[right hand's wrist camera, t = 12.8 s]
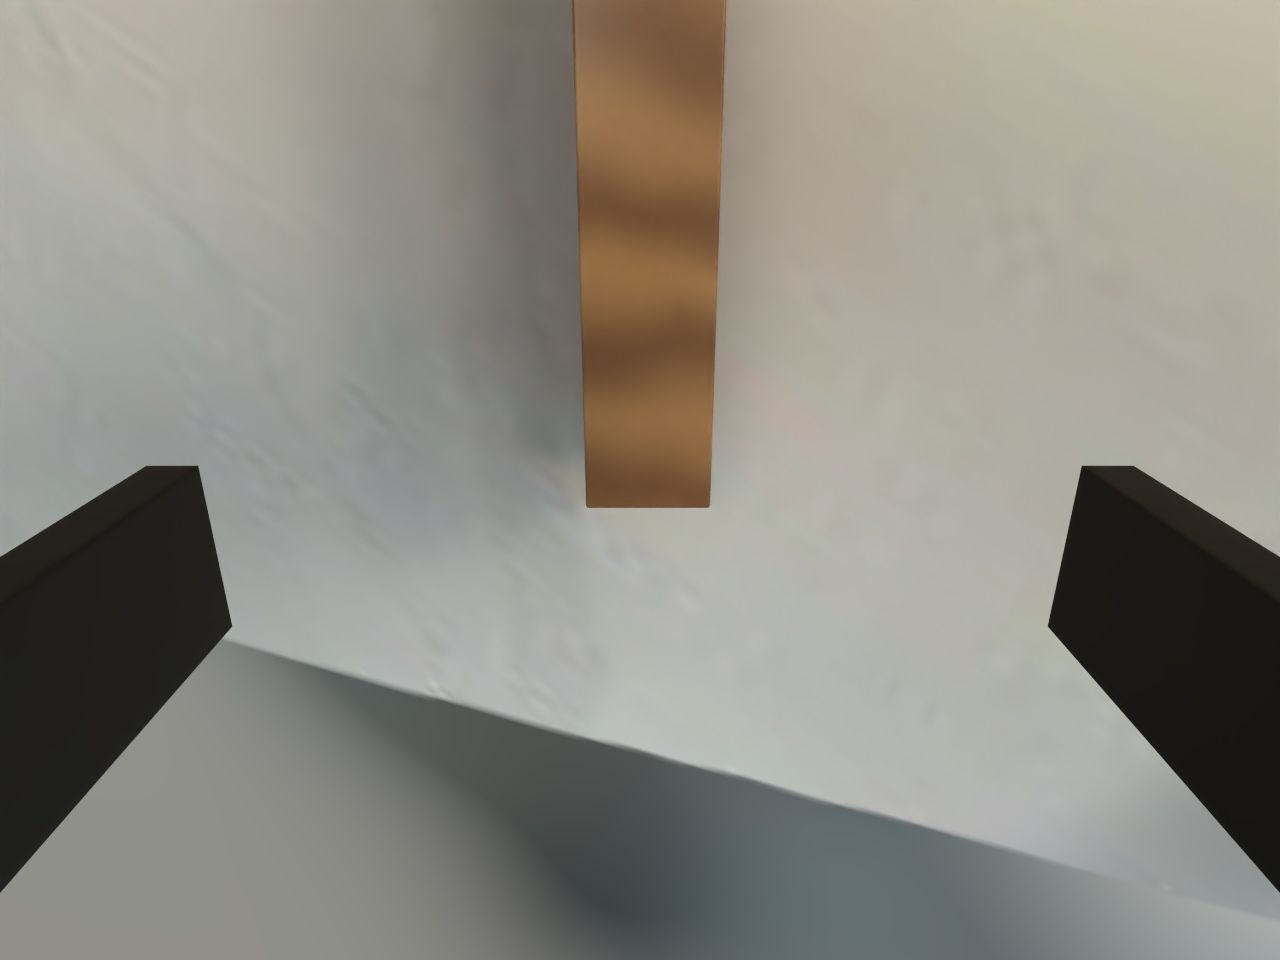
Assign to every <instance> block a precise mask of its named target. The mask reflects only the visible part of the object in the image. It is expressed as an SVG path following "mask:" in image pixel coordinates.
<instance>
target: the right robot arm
mask: <svg viewBox="0 0 1280 960" xmlns="http://www.w3.org/2000/svg"><path fill="white" fill-rule="evenodd" d="M231 627H232V623H231V618H230V614H229V609H228V604H227V600H226V595H225V590H224V585H223V581H222V576H221V571H220V567H219V562H218V557H217V553H216V548H215V543H214V538H213V534H212V529H211V524H210V520H209V515H208V510H207V505H206V501H205V496H204V491H203V487H202V482H201V477H200V472H199V468H198V466H146V467H144V468H142V469H141V470H139V471H138V472H136V473H134V474H133V475H131V476H130V477H128V478H126V479H125V480H123V481H121V482H120V483H118V484H117V485H115V486H113V487H112V488H110V489H109V490H107V491H105V492H104V493H102V494H101V495H99V496H97V497H96V498H94V499H93V500H91V501H89V502H88V503H86V504H85V505H83V506H81V507H80V508H78V509H77V510H75V511H73V512H72V513H70V514H69V515H67V516H65V517H64V518H62V519H61V520H59V521H57V522H56V523H54V524H52V525H51V526H49V527H48V528H46V529H44V530H43V531H41V532H40V533H38V534H36V535H35V536H33V537H32V538H30V539H28V540H27V541H25V542H24V543H22V544H20V545H19V546H17V547H16V548H14V549H12V550H11V551H9V552H8V553H6V554H4V555H3V556H1V557H0V892H1V891H2V890H3V889H4V888H5V886H6V885H7V884H8V883H9V882H10V881H11V880H12V878H13V877H14V876H15V875H16V874H17V873H18V872H19V870H20V869H21V868H22V867H23V866H24V865H25V864H26V862H27V861H28V860H29V859H30V858H31V857H32V855H33V854H34V853H35V852H36V851H37V850H38V849H39V847H40V846H41V845H42V844H43V843H44V842H45V840H46V839H47V838H48V837H49V836H50V835H51V834H52V832H53V831H54V830H55V829H56V828H57V827H58V826H59V825H60V823H61V822H62V821H63V820H64V819H65V818H66V816H67V815H68V814H69V813H70V812H71V811H72V810H73V808H74V807H75V806H76V805H77V804H78V803H79V802H80V800H81V799H82V798H83V797H84V796H85V795H86V794H87V792H88V791H89V790H90V789H91V788H92V787H93V785H94V784H95V783H96V782H97V781H98V780H99V779H100V777H101V776H102V775H103V774H104V773H105V772H106V771H107V769H108V768H109V767H110V766H111V765H112V764H113V763H114V761H115V760H116V759H117V758H118V757H119V756H120V754H121V753H122V752H123V751H124V750H125V749H126V748H127V746H128V745H129V744H130V743H131V742H132V741H133V740H134V738H135V737H136V736H137V735H138V734H139V733H140V732H141V730H142V729H143V728H144V727H145V726H146V725H147V724H148V722H149V721H150V720H151V719H152V718H153V717H154V715H155V714H156V713H157V712H158V711H159V710H160V709H161V707H162V706H163V705H164V704H165V703H166V702H167V701H168V699H169V698H170V697H171V696H172V695H173V694H174V693H175V691H176V690H177V689H178V688H179V687H180V686H181V684H182V683H183V682H184V681H185V680H186V679H187V678H188V676H189V675H190V674H191V673H192V672H193V671H194V670H195V668H196V667H197V666H198V665H199V664H200V663H201V662H202V660H203V659H204V658H205V657H206V656H207V655H208V654H209V652H210V651H211V650H212V649H213V648H214V647H215V645H216V644H217V643H218V642H219V641H220V640H221V639H222V637H223V636H224V635H225V634H226V633H227V632H228V631H229V629H230V628H231ZM1048 627H1049V628H1050V629H1051V631H1052V632H1053V633H1054V634H1055V635H1056V636H1057V637H1058V639H1059V640H1060V641H1061V642H1062V643H1063V644H1064V646H1065V647H1066V648H1067V649H1068V650H1069V651H1070V652H1071V654H1072V655H1073V656H1074V657H1075V658H1076V659H1077V660H1078V662H1079V663H1080V664H1081V665H1082V666H1083V667H1084V668H1085V670H1086V671H1087V672H1088V673H1089V674H1090V675H1091V676H1092V678H1093V679H1094V680H1095V681H1096V682H1097V683H1098V685H1099V686H1100V687H1101V688H1102V689H1103V690H1104V691H1105V693H1106V694H1107V695H1108V696H1109V697H1110V698H1111V699H1112V701H1113V702H1114V703H1115V704H1116V705H1117V706H1118V707H1119V709H1120V710H1121V711H1122V712H1123V713H1124V714H1125V716H1126V717H1127V718H1128V719H1129V720H1130V721H1131V722H1132V724H1133V725H1134V726H1135V727H1136V728H1137V729H1138V730H1139V732H1140V733H1141V734H1142V735H1143V736H1144V737H1145V738H1146V740H1147V741H1148V742H1149V743H1150V744H1151V745H1152V746H1153V748H1154V749H1155V750H1156V751H1157V752H1158V753H1159V755H1160V756H1161V757H1162V758H1163V759H1164V760H1165V761H1166V763H1167V764H1168V765H1169V766H1170V767H1171V768H1172V769H1173V771H1174V772H1175V773H1176V774H1177V775H1178V776H1179V777H1180V779H1181V780H1182V781H1183V782H1184V783H1185V784H1186V785H1187V787H1188V788H1189V789H1190V790H1191V791H1192V792H1193V794H1194V795H1195V796H1196V797H1197V798H1198V799H1199V800H1200V802H1201V803H1202V804H1203V805H1204V806H1205V807H1206V808H1207V810H1208V811H1209V812H1210V813H1211V814H1212V815H1213V816H1214V818H1215V819H1216V820H1217V821H1218V822H1219V823H1220V825H1221V826H1222V827H1223V828H1224V829H1225V830H1226V831H1227V833H1228V834H1229V835H1230V836H1231V837H1232V838H1233V839H1234V841H1235V842H1236V843H1237V844H1238V845H1239V846H1240V847H1241V849H1242V850H1243V851H1244V852H1245V853H1246V854H1247V855H1248V857H1249V858H1250V859H1251V860H1252V861H1253V862H1254V864H1255V865H1256V866H1257V867H1258V868H1259V869H1260V870H1261V872H1262V873H1263V874H1264V875H1265V876H1266V877H1267V878H1268V880H1269V881H1270V882H1271V883H1272V884H1273V885H1274V886H1275V888H1276V889H1277V890H1278V891H1279V892H1280V557H1279V556H1277V555H1276V554H1274V553H1272V552H1271V551H1269V550H1268V549H1266V548H1264V547H1263V546H1261V545H1260V544H1258V543H1256V542H1255V541H1253V540H1252V539H1250V538H1248V537H1247V536H1245V535H1244V534H1242V533H1240V532H1239V531H1237V530H1236V529H1234V528H1232V527H1231V526H1229V525H1228V524H1226V523H1224V522H1223V521H1221V520H1219V519H1218V518H1216V517H1215V516H1213V515H1211V514H1210V513H1208V512H1207V511H1205V510H1203V509H1202V508H1200V507H1199V506H1197V505H1195V504H1194V503H1192V502H1191V501H1189V500H1187V499H1186V498H1184V497H1183V496H1181V495H1179V494H1178V493H1176V492H1175V491H1173V490H1171V489H1170V488H1168V487H1167V486H1165V485H1163V484H1162V483H1160V482H1159V481H1157V480H1155V479H1154V478H1152V477H1150V476H1149V475H1147V474H1146V473H1144V472H1142V471H1141V470H1139V469H1138V468H1136V467H1134V466H1082V468H1081V472H1080V477H1079V482H1078V487H1077V491H1076V496H1075V501H1074V505H1073V510H1072V515H1071V520H1070V524H1069V529H1068V534H1067V538H1066V543H1065V548H1064V553H1063V557H1062V562H1061V567H1060V571H1059V576H1058V581H1057V585H1056V590H1055V595H1054V600H1053V604H1052V609H1051V614H1050V618H1049V623H1048Z"/></svg>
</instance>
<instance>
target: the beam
mask: <svg viewBox="0 0 1280 960" xmlns="http://www.w3.org/2000/svg"><path fill="white" fill-rule="evenodd" d="M572 11H573V47H574V83H575V119H576V155H577V191H578V227H579V263H580V299H581V335H582V371H583V407H584V443H585V479H586V506H587V507H588V508H708V507H709V506H710V490H711V459H712V428H713V398H714V367H715V336H716V306H717V275H718V244H719V214H720V183H721V153H722V122H723V91H724V61H725V30H726V0H572Z"/></svg>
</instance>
